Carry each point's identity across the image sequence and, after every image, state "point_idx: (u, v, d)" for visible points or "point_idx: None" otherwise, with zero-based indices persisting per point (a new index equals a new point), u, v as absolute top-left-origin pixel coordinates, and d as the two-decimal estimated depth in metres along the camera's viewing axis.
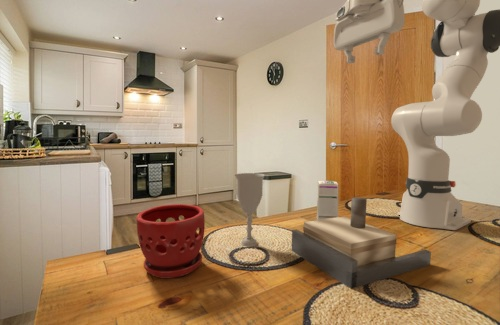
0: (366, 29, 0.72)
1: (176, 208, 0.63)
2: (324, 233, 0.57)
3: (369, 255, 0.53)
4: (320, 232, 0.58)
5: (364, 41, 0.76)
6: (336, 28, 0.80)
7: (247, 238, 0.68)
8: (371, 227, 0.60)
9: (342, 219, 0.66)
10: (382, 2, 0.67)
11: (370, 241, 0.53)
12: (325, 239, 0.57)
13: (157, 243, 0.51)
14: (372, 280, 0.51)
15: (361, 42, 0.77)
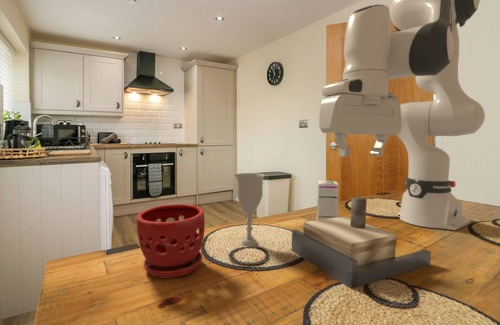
0: (376, 124, 0.58)
1: (176, 208, 0.63)
2: (324, 233, 0.57)
3: (369, 255, 0.53)
4: (320, 232, 0.58)
5: None
6: (341, 103, 0.53)
7: (247, 238, 0.68)
8: (371, 227, 0.60)
9: (342, 219, 0.66)
10: (392, 102, 0.60)
11: (370, 241, 0.53)
12: (325, 239, 0.57)
13: (157, 243, 0.51)
14: (372, 280, 0.51)
15: None
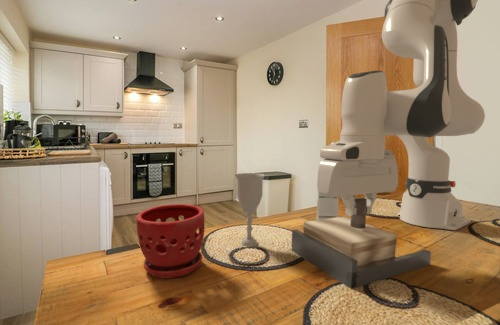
0: (373, 184, 0.59)
1: (176, 208, 0.63)
2: (324, 233, 0.57)
3: (369, 255, 0.53)
4: (320, 232, 0.58)
5: None
6: (338, 170, 0.54)
7: (247, 238, 0.68)
8: (371, 227, 0.60)
9: (342, 219, 0.66)
10: (388, 161, 0.61)
11: (370, 241, 0.53)
12: (325, 239, 0.57)
13: (157, 243, 0.51)
14: (372, 280, 0.51)
15: None
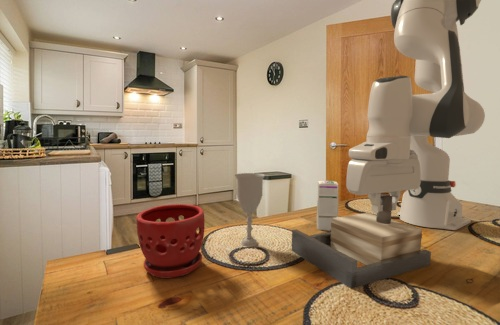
0: (398, 182, 0.63)
1: (176, 208, 0.63)
2: (353, 228, 0.61)
3: (398, 248, 0.57)
4: (349, 227, 0.62)
5: None
6: (368, 169, 0.57)
7: (247, 238, 0.68)
8: (396, 223, 0.63)
9: (366, 215, 0.69)
10: (412, 160, 0.64)
11: (399, 235, 0.56)
12: (354, 233, 0.60)
13: (157, 243, 0.51)
14: (372, 280, 0.51)
15: None
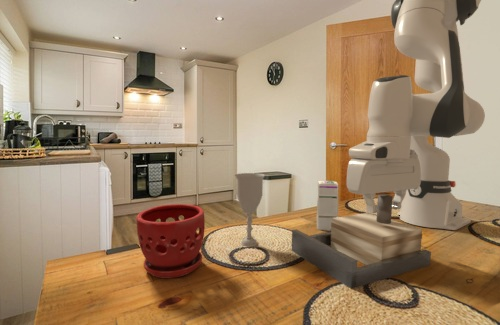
0: (398, 182, 0.63)
1: (176, 208, 0.63)
2: (353, 228, 0.61)
3: (398, 248, 0.57)
4: (349, 227, 0.62)
5: None
6: (368, 168, 0.57)
7: (247, 238, 0.68)
8: (396, 223, 0.63)
9: (367, 215, 0.69)
10: (412, 160, 0.64)
11: (399, 235, 0.56)
12: (355, 233, 0.60)
13: (157, 243, 0.51)
14: (372, 280, 0.51)
15: None
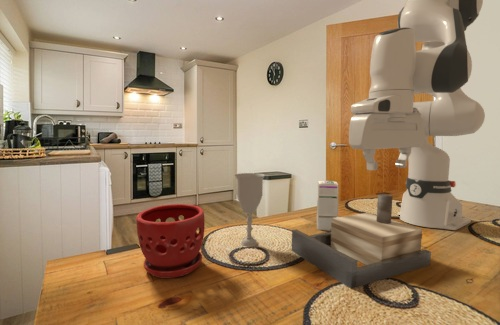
0: (401, 139, 0.62)
1: (176, 208, 0.63)
2: (353, 228, 0.61)
3: (398, 248, 0.57)
4: (349, 227, 0.62)
5: None
6: (370, 122, 0.57)
7: (247, 238, 0.68)
8: (396, 223, 0.63)
9: (367, 215, 0.69)
10: (415, 117, 0.63)
11: (399, 235, 0.56)
12: (355, 233, 0.60)
13: (157, 243, 0.51)
14: (372, 280, 0.51)
15: None
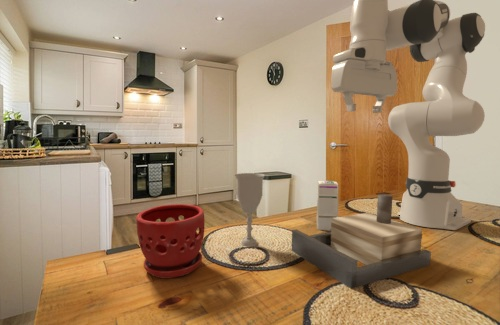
0: (376, 85, 0.72)
1: (176, 208, 0.63)
2: (353, 228, 0.61)
3: (398, 248, 0.57)
4: (349, 227, 0.62)
5: (358, 92, 0.74)
6: (348, 66, 0.67)
7: (247, 238, 0.68)
8: (396, 223, 0.63)
9: (367, 215, 0.69)
10: (389, 68, 0.74)
11: (399, 235, 0.56)
12: (355, 233, 0.60)
13: (157, 243, 0.51)
14: (372, 280, 0.51)
15: (355, 92, 0.73)
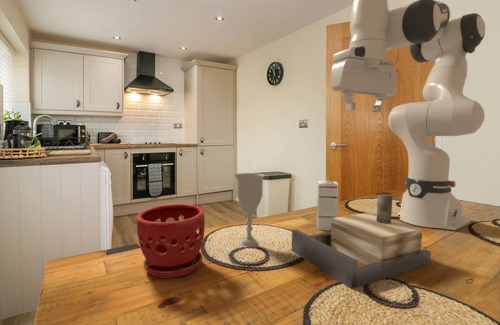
0: (376, 84, 0.72)
1: (176, 208, 0.63)
2: (353, 228, 0.61)
3: (398, 248, 0.57)
4: (349, 227, 0.62)
5: (357, 91, 0.74)
6: (348, 65, 0.67)
7: (247, 238, 0.68)
8: (396, 223, 0.63)
9: (367, 215, 0.69)
10: (389, 67, 0.74)
11: (399, 235, 0.56)
12: (355, 233, 0.60)
13: (157, 243, 0.51)
14: (372, 280, 0.51)
15: (355, 91, 0.73)
